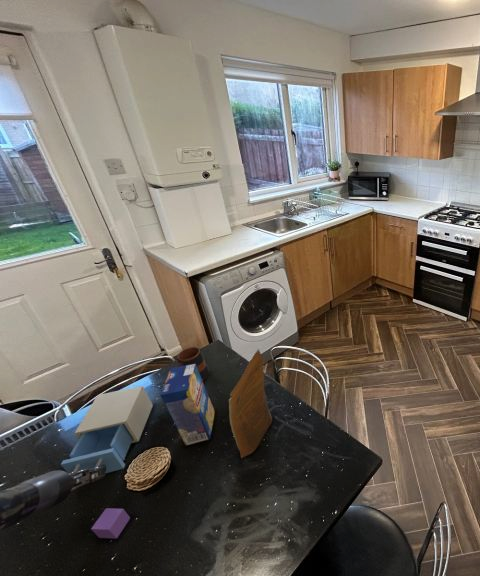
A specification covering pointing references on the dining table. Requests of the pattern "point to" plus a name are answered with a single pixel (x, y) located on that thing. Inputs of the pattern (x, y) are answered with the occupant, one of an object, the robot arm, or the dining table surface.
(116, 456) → the drawer
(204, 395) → the blue cereal box
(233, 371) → the dining table surface
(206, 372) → the mug
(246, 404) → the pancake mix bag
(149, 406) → the cabinet
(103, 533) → the block
